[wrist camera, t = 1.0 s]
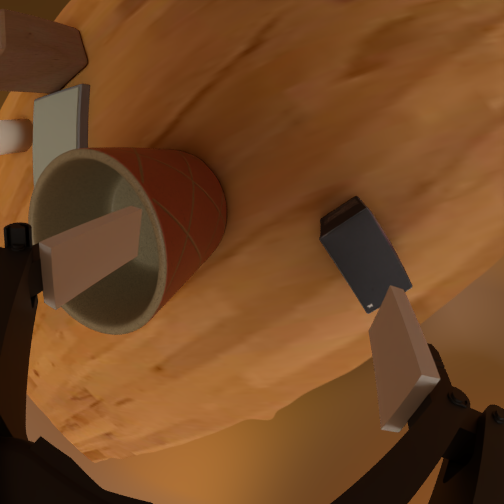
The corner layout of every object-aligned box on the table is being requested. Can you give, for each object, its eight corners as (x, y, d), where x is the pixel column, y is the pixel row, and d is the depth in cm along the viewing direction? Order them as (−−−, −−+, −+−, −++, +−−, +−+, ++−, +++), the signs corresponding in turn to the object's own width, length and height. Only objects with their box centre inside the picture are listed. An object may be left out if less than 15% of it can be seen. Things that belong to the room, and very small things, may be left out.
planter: (251, 253, 45) (199, 325, 26) (146, 279, 50) (68, 339, 32) (209, 125, 40) (124, 111, 22) (108, 172, 46) (12, 191, 27)
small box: (397, 257, 40) (416, 288, 30) (358, 281, 42) (366, 317, 33) (358, 192, 39) (369, 205, 29) (318, 219, 41) (316, 240, 31)
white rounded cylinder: (17, 122, 48) (-15, 124, 39) (34, 116, 46) (1, 117, 38) (17, 153, 50) (-15, 158, 41) (33, 149, 48) (0, 153, 40)
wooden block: (90, 63, 41) (1, 46, 22) (56, 96, 44) (-30, 93, 25) (80, 27, 39) (-1, 5, 20) (47, 59, 42) (-31, 50, 23)
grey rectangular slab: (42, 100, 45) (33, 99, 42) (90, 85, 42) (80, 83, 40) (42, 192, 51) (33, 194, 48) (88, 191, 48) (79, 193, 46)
